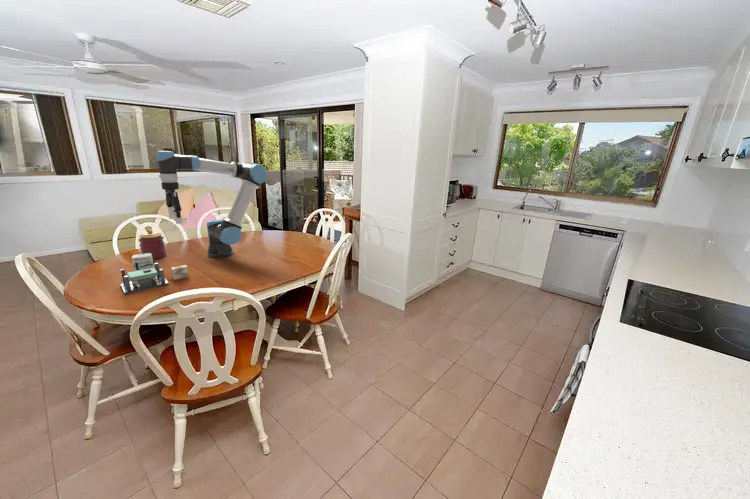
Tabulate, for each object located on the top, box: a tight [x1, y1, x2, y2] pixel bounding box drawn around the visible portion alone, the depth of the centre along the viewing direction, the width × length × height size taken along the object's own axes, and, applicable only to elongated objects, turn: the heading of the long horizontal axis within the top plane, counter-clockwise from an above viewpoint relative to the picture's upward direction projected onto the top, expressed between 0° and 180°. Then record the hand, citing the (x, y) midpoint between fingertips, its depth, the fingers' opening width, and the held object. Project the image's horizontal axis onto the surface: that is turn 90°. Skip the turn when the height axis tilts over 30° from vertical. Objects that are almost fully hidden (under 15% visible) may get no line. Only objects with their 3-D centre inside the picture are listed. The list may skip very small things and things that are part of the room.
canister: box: [137, 229, 167, 260], centre depth 193 cm, size 13×13×18 cm
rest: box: [170, 264, 190, 281], centre depth 167 cm, size 7×3×6 cm, turn 135°
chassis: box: [119, 262, 170, 295], centre depth 156 cm, size 18×13×8 cm
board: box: [127, 267, 158, 282], centre depth 155 cm, size 11×8×3 cm
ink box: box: [131, 253, 155, 271], centre depth 166 cm, size 8×5×12 cm, turn 123°
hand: (175, 221), depth 169 cm, fingers open, 13 cm apart
